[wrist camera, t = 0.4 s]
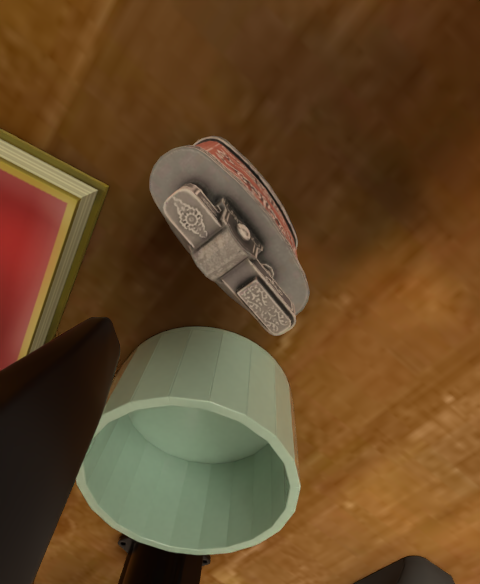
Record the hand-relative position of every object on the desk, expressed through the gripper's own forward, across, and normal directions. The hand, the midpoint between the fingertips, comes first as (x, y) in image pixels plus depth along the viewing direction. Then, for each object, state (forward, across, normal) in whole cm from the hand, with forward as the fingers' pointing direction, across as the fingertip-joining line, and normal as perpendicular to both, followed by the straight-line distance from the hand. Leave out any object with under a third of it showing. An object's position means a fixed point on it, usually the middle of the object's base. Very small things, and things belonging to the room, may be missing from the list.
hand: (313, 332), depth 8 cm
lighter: (+14, +3, +2) cm, 15 cm away
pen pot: (+12, +7, +16) cm, 21 cm away
